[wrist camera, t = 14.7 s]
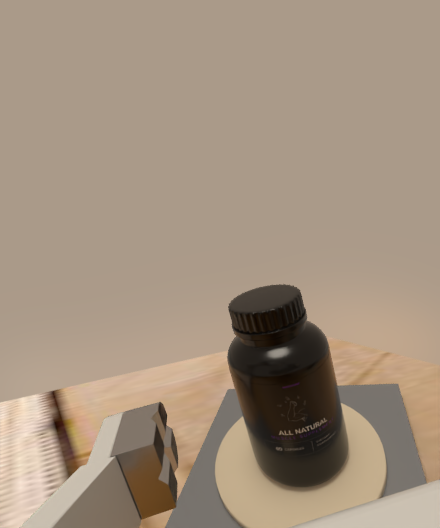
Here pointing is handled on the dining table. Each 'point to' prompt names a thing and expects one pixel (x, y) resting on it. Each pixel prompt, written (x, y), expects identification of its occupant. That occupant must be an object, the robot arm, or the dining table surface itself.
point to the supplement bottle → (286, 387)
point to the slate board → (300, 498)
